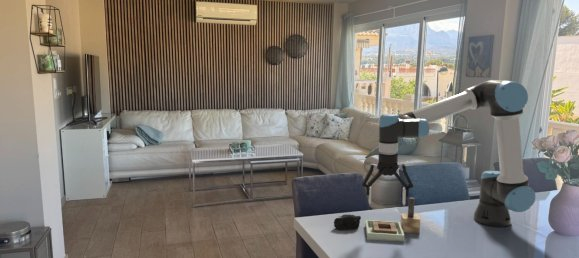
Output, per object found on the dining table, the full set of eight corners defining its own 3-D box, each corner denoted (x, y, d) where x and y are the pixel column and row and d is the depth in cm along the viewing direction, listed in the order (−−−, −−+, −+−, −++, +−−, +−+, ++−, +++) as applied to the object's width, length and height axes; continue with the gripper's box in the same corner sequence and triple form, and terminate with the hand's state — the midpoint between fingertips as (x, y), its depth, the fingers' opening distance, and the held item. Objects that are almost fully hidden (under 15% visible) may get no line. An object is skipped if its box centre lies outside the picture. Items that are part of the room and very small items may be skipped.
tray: (399, 228, 179) (399, 221, 179) (404, 242, 165) (404, 235, 165) (365, 226, 181) (365, 219, 181) (367, 239, 167) (367, 233, 166)
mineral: (352, 234, 172) (352, 220, 171) (332, 229, 177) (332, 216, 176) (361, 226, 181) (361, 213, 180) (342, 222, 185) (342, 209, 185)
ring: (396, 238, 167) (397, 231, 167) (373, 236, 168) (374, 229, 168) (393, 227, 178) (393, 221, 177) (372, 226, 179) (372, 219, 178)
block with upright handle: (417, 227, 180) (419, 196, 178) (419, 233, 174) (421, 201, 172) (400, 226, 181) (402, 195, 179) (402, 232, 175) (404, 200, 173)
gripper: (418, 151, 169) (416, 201, 172) (356, 150, 172) (355, 199, 175) (421, 155, 161) (419, 207, 165) (357, 154, 165) (356, 205, 168)
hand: (386, 203), depth 170 cm, fingers open, 13 cm apart
